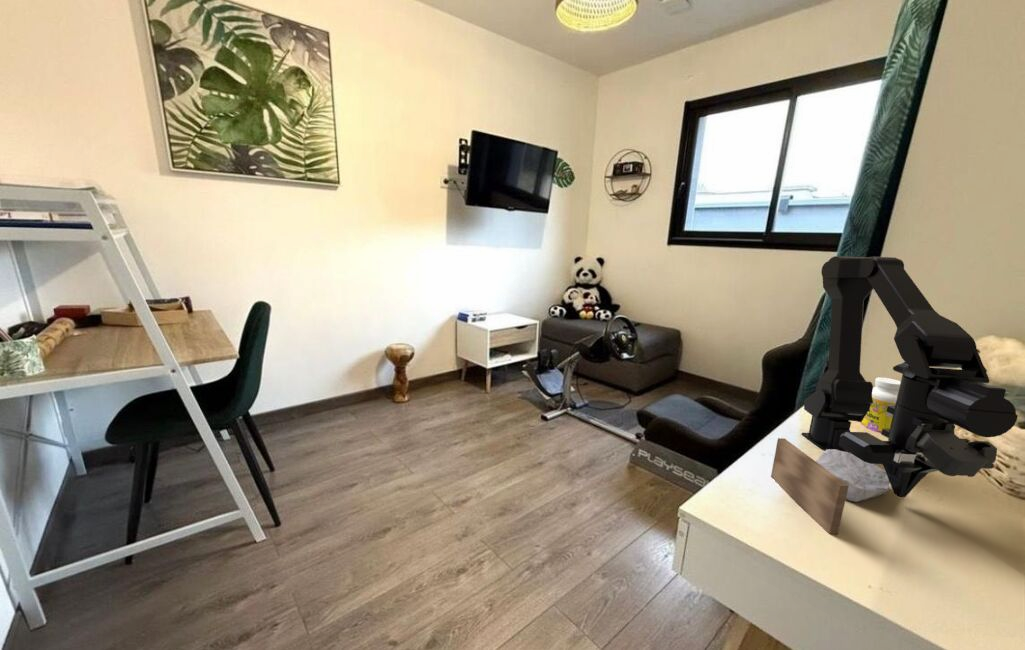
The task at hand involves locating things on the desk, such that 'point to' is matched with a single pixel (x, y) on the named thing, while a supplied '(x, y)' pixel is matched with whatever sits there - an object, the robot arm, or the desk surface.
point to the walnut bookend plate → (810, 485)
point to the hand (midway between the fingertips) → (899, 496)
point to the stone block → (855, 474)
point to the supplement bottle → (881, 404)
